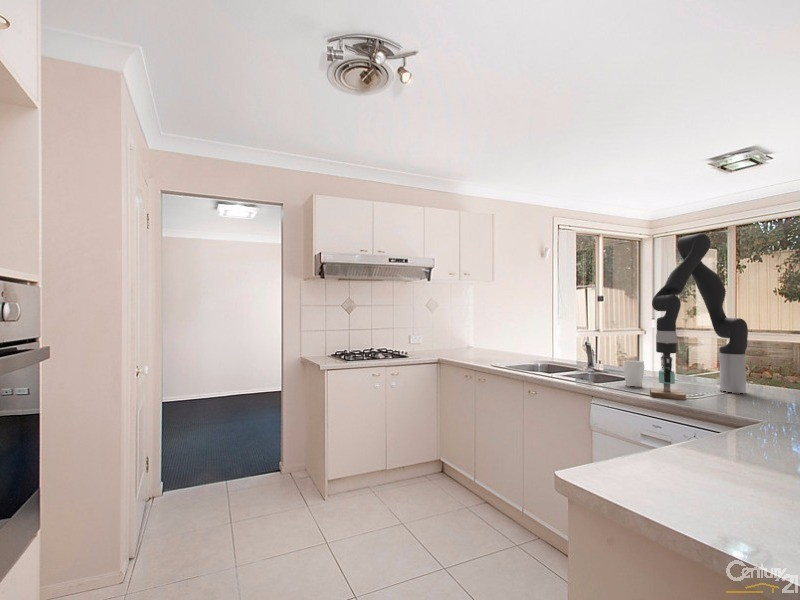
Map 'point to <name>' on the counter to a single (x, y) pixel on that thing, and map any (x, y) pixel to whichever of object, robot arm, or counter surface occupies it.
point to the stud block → (667, 393)
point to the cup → (633, 372)
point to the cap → (661, 377)
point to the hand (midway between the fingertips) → (666, 381)
